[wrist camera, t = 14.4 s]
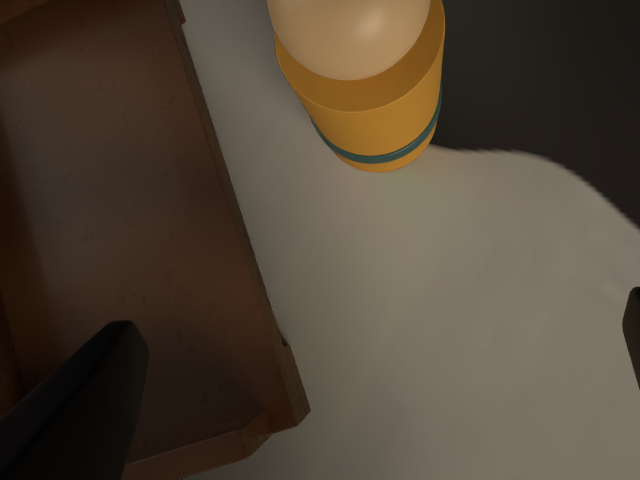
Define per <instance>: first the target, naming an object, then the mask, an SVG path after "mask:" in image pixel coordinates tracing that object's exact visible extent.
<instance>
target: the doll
mask: <svg viewBox="0 0 640 480" xmlns="http://www.w3.org/2000/svg"><path fill="white" fill-rule="evenodd" d="M267 3H268V10H269V15H270V19H271V22H272V25H273V27H274V30H275V50H276V55H277V59H278V63H279V65H280V68H281V70H282V72H283V74H284V76H285V77H286V79H287V81H288V82H289V84H290V85H291V87H292V89H293V90H294V92H295V93H296V95H297V96H298V98H299V99H300V101H301V102H302V104H303V105H304V107H305V109H306V110H307V112H308V113H309V115H310V118H311V120H312V123H313V125H314V127H315V128H316V130H317V132H318V133H319V135H320V136H321V138H322V139H323V140H324V142H325V143H326V144H327V145H328V146H329V147H330V148H331V149H332V150H333V151H334V153H335V154H336V155H337V156H338V157H339V158H340V159H341V160H342V161H344V162H345V163H346V164H348V165H350V166H352V167H354V168H356V169H359V170H363V171H367V172H387V171H392V170H395V169H398V168H401V167H403V166H405V165H407V164H408V163H410V162H412V161H413V160H414V159H416V158H417V157H418V156H419V155H420V154H421V153H422V152H423V151H424V149H425V148H426V147H427V145H428V144H429V142H430V140H431V138H432V136H433V134H434V131H435V127H436V122H437V119H438V115H439V112H440V106H441V98H442V82H441V68H442V56H443V45H444V34H445V15H444V8H443V4H442V1H441V0H267Z"/></svg>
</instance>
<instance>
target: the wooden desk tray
mask: <svg viewBox="0 0 640 480" xmlns="http://www.w3.org/2000/svg"><path fill="white" fill-rule="evenodd" d="M183 23H185V18H184V14H183V11H182V8H181V5H180V2H179V0H0V419H1V418H2V417H3V416H4V415H5V414H6V413H7V412H8V411H10V410H11V409H12V408H13V407H14V406H15V405H16V404H17V403H19V402H20V401H21V400H22V399H23V398H24V397H25V396H26V395H28V394H29V393H30V392H31V391H32V390H33V389H34V388H35V387H37V386H38V385H39V384H40V383H41V382H42V381H43V380H44V379H46V378H47V377H48V376H49V375H50V374H51V373H52V372H53V371H55V370H56V369H57V368H58V367H59V366H60V365H61V364H62V363H64V362H65V361H66V360H67V359H68V358H69V357H70V356H72V355H73V354H74V353H75V352H76V351H77V350H78V349H79V348H81V347H82V346H83V345H84V344H85V343H86V342H87V341H88V340H90V339H91V338H92V337H93V336H94V335H95V334H96V333H97V332H99V331H100V330H101V329H102V328H103V327H104V326H105V325H106V324H108V323H109V322H111V321H118V320H131V321H132V322H134V323H135V325H136V326H137V328H138V330H139V331H140V333H141V335H142V336H143V338H144V340H145V341H146V343H147V345H148V348H149V363H148V368H147V373H146V379H145V384H144V390H143V395H142V400H141V406H140V411H139V417H138V421H137V426H136V430H135V434H134V438H133V441H132V445H131V448H130V451H129V455H128V458H127V462H126V465H125V468H124V472H123V475H122V478H121V480H179V479H182V478H185V477H188V476H192V475H195V474H198V473H201V472H205V471H208V470H211V469H214V468H218V467H221V466H224V465H227V464H231V463H234V462H237V461H240V460H244V459H247V458H249V457H250V456H251V455H252V454H253V453H254V452H255V451H256V450H257V449H258V448H259V447H260V446H261V445H262V444H263V443H264V442H265V441H266V440H267V439H268V438H269V437H270V436H271V435H272V434H274V433H277V432H280V431H284V430H287V429H290V428H293V427H296V426H298V425H299V424H300V423H301V422H302V421H303V419H304V418H305V417H306V416H307V415H308V414H309V412H310V411H311V410H310V406H309V403H308V400H307V397H306V394H305V391H304V388H303V385H302V382H301V378H300V375H299V372H298V369H297V366H296V363H295V360H294V357H293V354H292V350H291V347H290V345H288V344H287V345H285V346H283V343H282V340H281V336H280V333H279V330H278V327H277V324H276V321H275V318H274V315H273V311H272V308H271V305H270V302H269V299H268V296H267V293H266V289H265V286H264V283H263V280H262V277H261V274H260V271H259V268H258V264H257V261H256V258H255V255H254V252H253V249H252V246H251V243H250V239H249V236H248V233H247V230H246V227H245V224H244V221H243V218H242V214H241V211H240V208H239V205H238V202H237V199H236V196H235V193H234V189H233V186H232V183H231V180H230V177H229V174H228V171H227V167H226V164H225V161H224V158H223V155H222V152H221V149H220V146H219V142H218V139H217V136H216V133H215V130H214V127H213V124H212V121H211V117H210V114H209V111H208V108H207V105H206V102H205V99H204V96H203V92H202V89H201V86H200V83H199V80H198V77H197V74H196V71H195V67H194V64H193V61H192V58H191V55H190V52H189V49H188V45H187V42H186V39H185V36H184V33H183V30H182V27H181V24H183Z"/></svg>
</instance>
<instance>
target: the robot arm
mask: <svg viewBox="0 0 640 480" xmlns="http://www.w3.org/2000/svg"><path fill="white" fill-rule="evenodd" d="M622 327H623V333H624V337H625V341H626V344H627V348H628V351H629V355H630V358H631V361H632V365H633V368H634V372H635V375H636V379H637V382H638V386H639V389H640V287H635V288H633V289H632V290H631V291H630V294H629V297H628V301H627V305H626V309H625V313H624V317H623V322H622ZM148 363H149V348H148V345H147V343H146V341H145V340H144V338H143V336H142V335H141V333H140V331H139V330H138V328H137V326H136V325H135V323H134V322H132V321H131V320H118V321H111V322H109V323H108V324H106V325H105V326H104V327H103V328H102V329H101V330H100V331H99V332H97V333H96V334H95V335H94V336H93V337H92V338H91V339H90V340H88V341H87V342H86V343H85V344H84V345H83V346H82V347H81V348H79V349H78V350H77V351H76V352H75V353H74V354H73V355H72V356H70V357H69V358H68V359H67V360H66V361H65V362H64V363H62V364H61V365H60V366H59V367H58V368H57V369H56V370H55V371H53V372H52V373H51V374H50V375H49V376H48V377H47V378H46V379H44V380H43V381H42V382H41V383H40V384H39V385H38V386H37V387H35V388H34V389H33V390H32V391H31V392H30V393H29V394H28V395H26V396H25V397H24V398H23V399H22V400H21V401H20V402H19V403H17V404H16V405H15V406H14V407H13V408H12V409H11V410H10V411H8V412H7V413H6V414H5V415H4V416H3V417H2V418H1V419H0V480H121V478H122V475H123V472H124V468H125V465H126V462H127V458H128V455H129V451H130V448H131V445H132V441H133V438H134V434H135V430H136V426H137V421H138V417H139V411H140V406H141V400H142V395H143V390H144V384H145V379H146V373H147V368H148Z"/></svg>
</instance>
